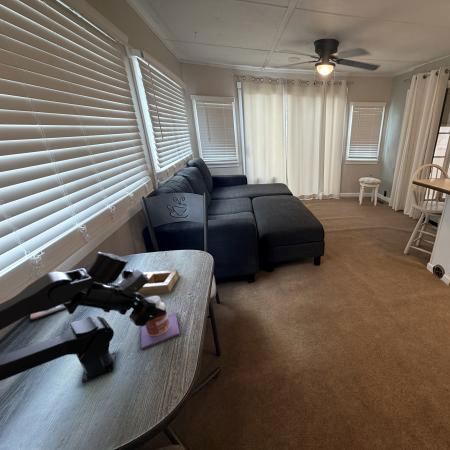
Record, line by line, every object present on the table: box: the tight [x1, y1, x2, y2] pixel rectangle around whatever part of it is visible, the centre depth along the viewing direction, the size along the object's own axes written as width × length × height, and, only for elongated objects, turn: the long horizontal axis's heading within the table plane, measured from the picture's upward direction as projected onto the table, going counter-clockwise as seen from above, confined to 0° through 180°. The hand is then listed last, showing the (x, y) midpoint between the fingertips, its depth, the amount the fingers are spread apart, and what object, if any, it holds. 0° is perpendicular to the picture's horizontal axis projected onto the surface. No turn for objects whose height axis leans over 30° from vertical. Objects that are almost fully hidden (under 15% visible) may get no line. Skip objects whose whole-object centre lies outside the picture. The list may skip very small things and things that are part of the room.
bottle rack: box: [117, 269, 180, 296], centre depth 97 cm, size 11×20×4 cm, turn 97°
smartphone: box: [29, 304, 66, 320], centre depth 88 cm, size 7×1×15 cm
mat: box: [140, 313, 180, 349], centre depth 75 cm, size 10×10×1 cm
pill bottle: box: [146, 295, 170, 336], centre depth 73 cm, size 6×6×11 cm
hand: (158, 307), depth 73 cm, fingers open, 9 cm apart
